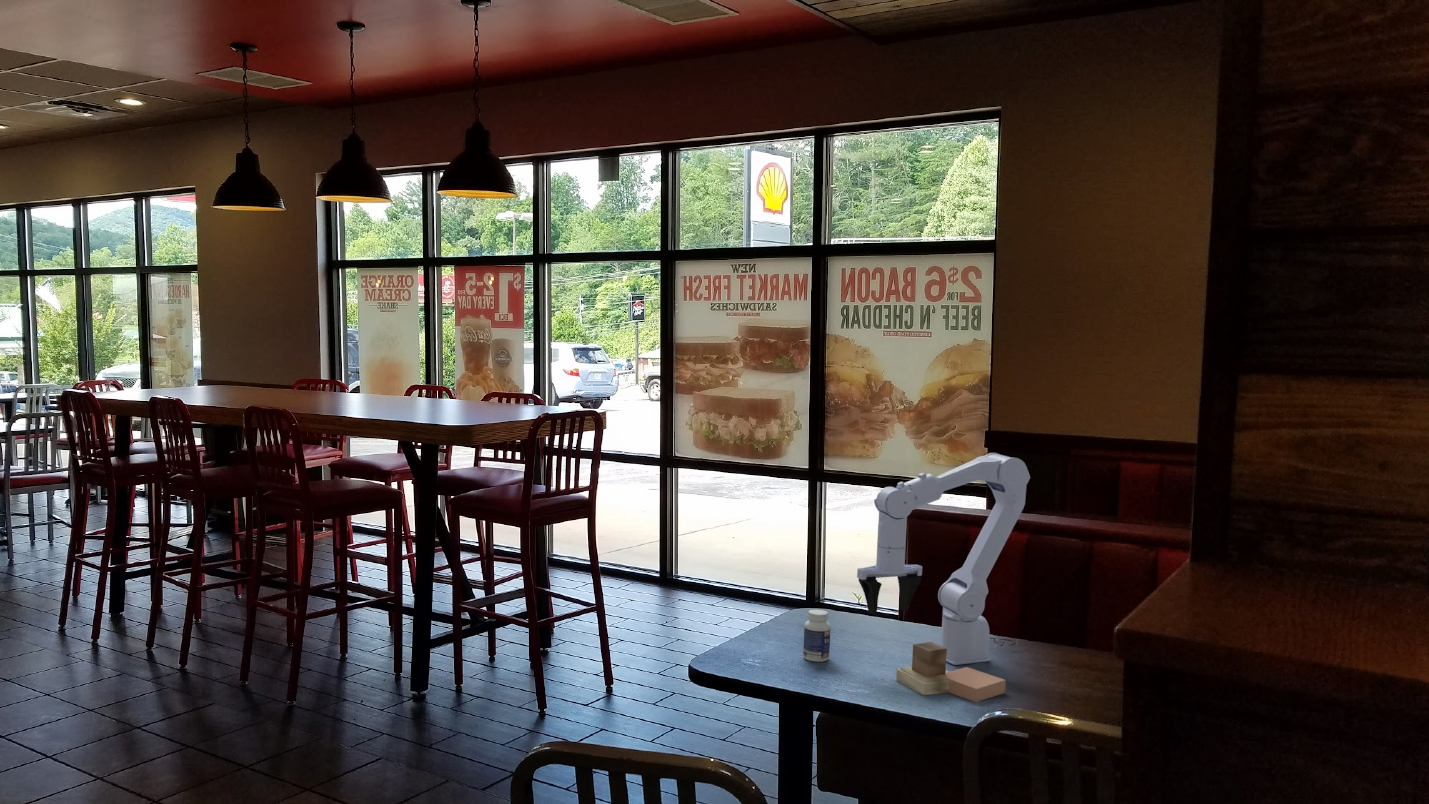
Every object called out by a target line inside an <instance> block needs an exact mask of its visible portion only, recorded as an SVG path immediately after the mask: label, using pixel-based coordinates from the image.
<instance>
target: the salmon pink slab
mask: <svg viewBox="0 0 1429 804" xmlns="http://www.w3.org/2000/svg"><path fill="white" fill-rule="evenodd" d="M939 676H941V677H944V678H947V680H948V681H949V692H948V693H950V694H953V695H955V696H958V697H960V698H964V699H966V700H969V701H972V702H975V703H977V702H981V701H984V700H988V699H990V698H994V697H996V696H999V695H1003V694H1005V693H1006V683H1007V682H1006V681H1007V680H1006V679H1005V678H1001V677H999V676H995V675H992V674H989V673H986V672H983V671H980V670H977V669H974V668H971V667H968V666H964V667H961V668H958V669H955V670H951V671H949V672H947V673H945V674H942V675H939ZM951 677H953V678H951Z"/></svg>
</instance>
